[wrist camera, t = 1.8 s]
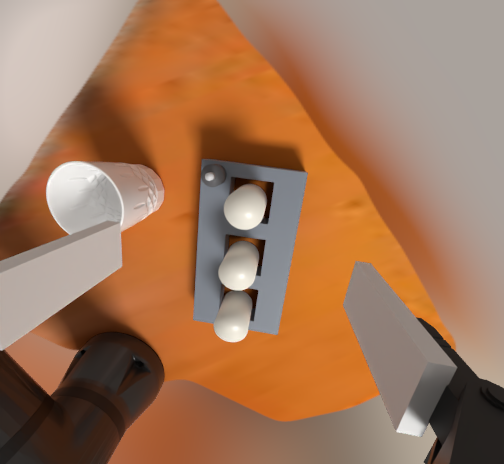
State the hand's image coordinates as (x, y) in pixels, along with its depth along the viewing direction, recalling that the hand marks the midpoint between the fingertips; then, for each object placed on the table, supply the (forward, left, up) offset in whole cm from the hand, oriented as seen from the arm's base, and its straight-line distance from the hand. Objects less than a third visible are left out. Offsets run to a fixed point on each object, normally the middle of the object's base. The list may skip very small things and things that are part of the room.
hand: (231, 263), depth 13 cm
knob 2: (-1, +1, -16) cm, 16 cm away
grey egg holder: (-1, -7, -19) cm, 20 cm away
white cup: (-16, -1, -19) cm, 25 cm away
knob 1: (-1, -14, -16) cm, 21 cm away
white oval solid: (-1, -7, -16) cm, 17 cm away
